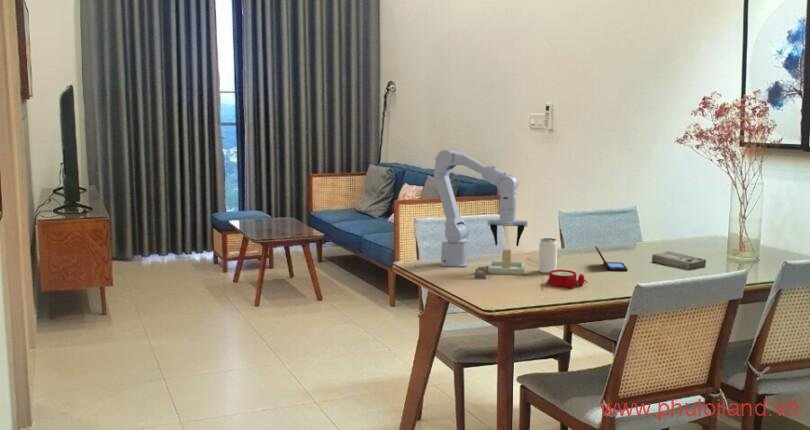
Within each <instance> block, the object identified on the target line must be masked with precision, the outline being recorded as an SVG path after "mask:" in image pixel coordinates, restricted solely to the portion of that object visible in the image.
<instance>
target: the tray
mask: <svg viewBox="0 0 810 430" xmlns="http://www.w3.org/2000/svg"><path fill="white" fill-rule="evenodd" d="M487 274H491V275H494V274H496V275H518V276H525V262H524V261H511V268H502V260H501V261H500V260H489V261H488V268H487Z"/></svg>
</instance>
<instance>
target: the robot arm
mask: <svg viewBox="0 0 810 430" xmlns="http://www.w3.org/2000/svg"><path fill="white" fill-rule="evenodd" d="M434 160H435V161H434V162H435V164H434V169H433V177H434V181H435V183H436V188H437V191H438V194H439V195H438V196H439V198H440V201H441V202H440V203H441V205H442V210H443V212H444V216H445V222H444V228H445V229H444V230H445V231H444V236H445V239H446V240H447V241H442V242H441V256H440V261H441V265H440V266H441V267H463V268H464V267H465V268H466V267H467V265H468V261H467V237H468V236H469V234H470V229H469V227H468V225H467V224H466V223H465V219H464V218H463V217H462V216H461V215H460V212H459V209H458V204H457V201H456V197H455V193H454V190H453V187H452V183H451V179H450V174H451V172H452V171H453V169H455V167H457V166H464V167H466V168H467V169H470V170H473V171H474V172H476V173H478V174H481V177H482V179H483V180H484V181H486V182H488V183H490V184H492V185H494V186H495V187H498V190H499V191H500V196H499V197H500V198H499V219H487V223H486V224H487V226H489V228H490V230H491V233H492V236H493V238H494V245H495V246H498V227H499V226H502V227H517V232H516V242H515V244H516V247H518V246H519V244H520V239H521V236H522V234H523V232H524V230H525V228H526V227H528V220H518V219H516V213H517V212H516V210H517V208H516V206H517V204H516V203H517V188H518V187H519V180H518V179H517V177H516V176H515V175H512V174H509V175H508V172H506V171H505V172H504V171H502V170H500V169H498V167H497V166H496V165H485V164H482V163H481V162H480V161H478V160H476V159H474V158H473V157H472V156H470V155H468V154H467V153H465V152H463V151H461V150H458V149H457V148H451V149H443V150H440V151H439V152H438V154H436V157H435V159H434Z"/></svg>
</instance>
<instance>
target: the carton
mask: <svg viewBox="0 0 810 430" xmlns="http://www.w3.org/2000/svg"><path fill="white" fill-rule="evenodd" d="M511 259H512V249H510V248H509V249H508V248H502V258H501V261H502V268H511V262H512V260H511Z"/></svg>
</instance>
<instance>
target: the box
mask: <svg viewBox="0 0 810 430" xmlns="http://www.w3.org/2000/svg"><path fill="white" fill-rule="evenodd" d="M651 262H652V263H656V264H662V265H665V266H670V267H674V268H678V269H682V270H686V271H687V270H688V271H691V270H695V269H696V270H697V269H700V268H705V267H706V266H707V259H706V258H704V259H703V258H701V257H700V258H699V257H695V256H691V255H686V254H683V253H682V254H681V253H678V252H674V251H664V252H659V253H654V254H652V256H651Z"/></svg>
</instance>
